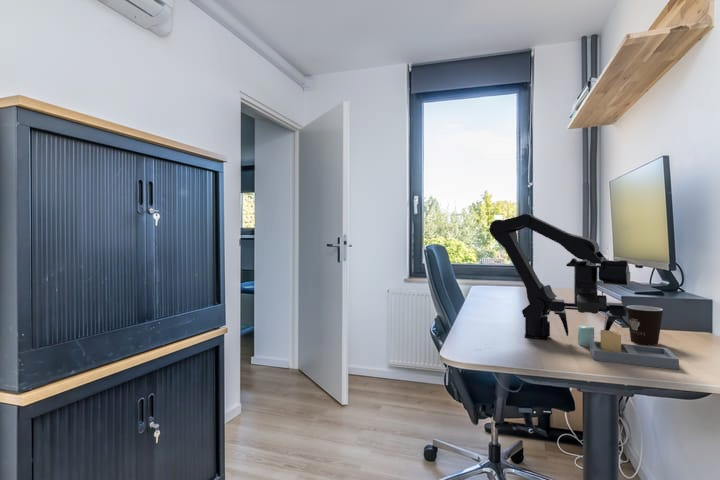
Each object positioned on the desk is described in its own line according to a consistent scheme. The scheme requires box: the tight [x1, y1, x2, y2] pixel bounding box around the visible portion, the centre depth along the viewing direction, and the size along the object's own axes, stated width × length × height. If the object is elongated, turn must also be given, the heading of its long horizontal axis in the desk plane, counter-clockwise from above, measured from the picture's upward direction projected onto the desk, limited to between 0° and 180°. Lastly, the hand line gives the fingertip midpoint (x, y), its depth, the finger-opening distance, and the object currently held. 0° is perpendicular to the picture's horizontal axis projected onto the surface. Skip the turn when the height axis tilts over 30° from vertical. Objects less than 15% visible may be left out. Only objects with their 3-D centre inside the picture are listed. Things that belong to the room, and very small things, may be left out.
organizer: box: [589, 340, 680, 370], centre depth 98 cm, size 17×10×2 cm, turn 64°
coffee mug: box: [620, 304, 664, 347], centre depth 114 cm, size 12×9×10 cm
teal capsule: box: [577, 325, 595, 348], centre depth 111 cm, size 4×4×5 cm
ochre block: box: [600, 329, 622, 352], centre depth 100 cm, size 4×4×5 cm
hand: (585, 337), depth 111 cm, fingers open, 9 cm apart
